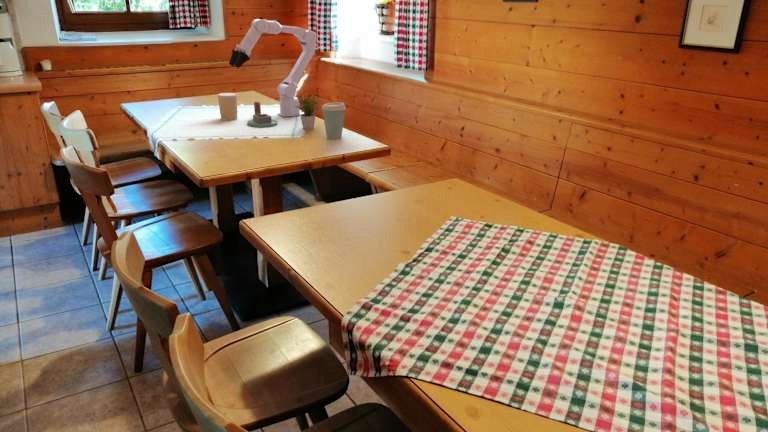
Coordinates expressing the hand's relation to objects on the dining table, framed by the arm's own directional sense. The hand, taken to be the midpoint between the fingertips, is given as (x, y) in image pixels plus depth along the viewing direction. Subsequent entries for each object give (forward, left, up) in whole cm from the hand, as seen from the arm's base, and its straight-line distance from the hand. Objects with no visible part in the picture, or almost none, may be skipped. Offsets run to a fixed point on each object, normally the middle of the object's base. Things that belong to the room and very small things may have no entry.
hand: (233, 66), depth 266 cm
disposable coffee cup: (-26, +51, -26) cm, 63 cm away
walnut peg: (-11, 0, -26) cm, 28 cm away
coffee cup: (+2, -5, -26) cm, 27 cm away
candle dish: (-8, +13, -26) cm, 30 cm away
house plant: (-23, +32, -26) cm, 47 cm away
